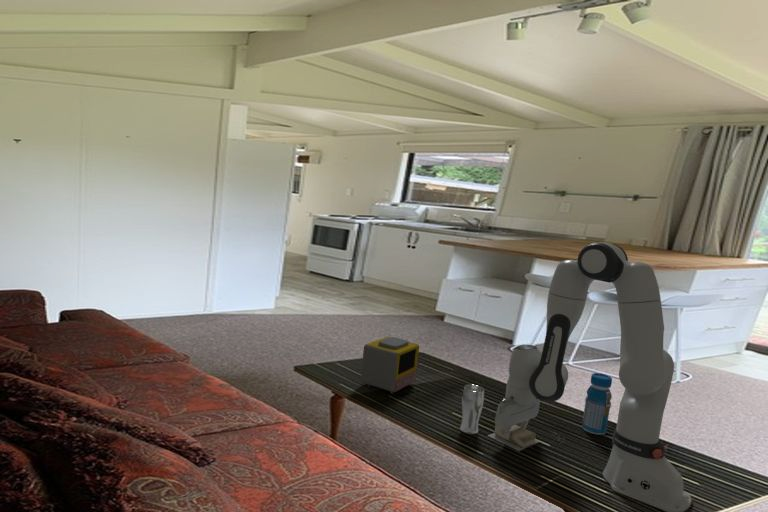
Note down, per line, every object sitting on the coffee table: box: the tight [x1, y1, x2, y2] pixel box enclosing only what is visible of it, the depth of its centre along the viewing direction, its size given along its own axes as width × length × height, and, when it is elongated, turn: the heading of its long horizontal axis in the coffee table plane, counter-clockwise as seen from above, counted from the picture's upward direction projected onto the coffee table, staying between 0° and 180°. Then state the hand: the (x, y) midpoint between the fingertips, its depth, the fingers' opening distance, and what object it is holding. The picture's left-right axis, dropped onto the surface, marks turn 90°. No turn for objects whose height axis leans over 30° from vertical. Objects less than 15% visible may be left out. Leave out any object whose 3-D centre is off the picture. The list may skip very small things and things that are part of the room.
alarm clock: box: [360, 336, 420, 395], centre depth 204 cm, size 20×16×18 cm
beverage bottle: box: [581, 372, 613, 436], centre depth 181 cm, size 8×8×20 cm
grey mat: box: [487, 432, 540, 452], centre depth 167 cm, size 12×12×1 cm
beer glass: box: [459, 384, 485, 435], centre depth 170 cm, size 7×7×15 cm
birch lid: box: [494, 424, 537, 448], centre depth 166 cm, size 11×7×3 cm, turn 42°
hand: (514, 434), depth 167 cm, fingers closed on birch lid, 7 cm apart
